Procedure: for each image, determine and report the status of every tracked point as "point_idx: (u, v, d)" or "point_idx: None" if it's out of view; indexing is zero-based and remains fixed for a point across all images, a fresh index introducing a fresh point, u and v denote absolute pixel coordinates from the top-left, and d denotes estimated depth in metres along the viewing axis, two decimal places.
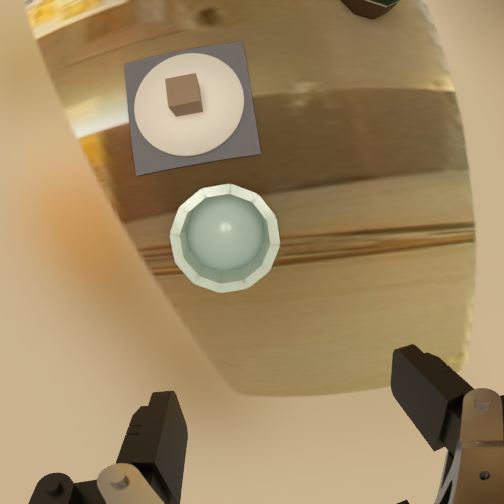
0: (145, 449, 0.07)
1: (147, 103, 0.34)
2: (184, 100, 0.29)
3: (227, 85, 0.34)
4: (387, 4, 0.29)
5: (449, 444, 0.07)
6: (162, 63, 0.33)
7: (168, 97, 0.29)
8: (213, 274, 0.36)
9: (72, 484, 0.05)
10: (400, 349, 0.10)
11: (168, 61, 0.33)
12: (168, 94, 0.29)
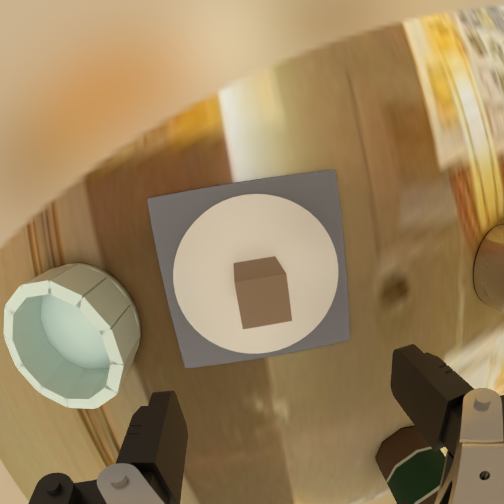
0: (145, 449, 0.07)
1: (259, 216, 0.24)
2: (244, 306, 0.20)
3: (280, 332, 0.26)
4: (388, 484, 0.27)
5: (449, 444, 0.07)
6: (326, 236, 0.25)
7: (251, 281, 0.20)
8: (26, 319, 0.22)
9: (72, 484, 0.05)
10: (400, 349, 0.10)
11: (328, 245, 0.25)
12: (256, 281, 0.20)
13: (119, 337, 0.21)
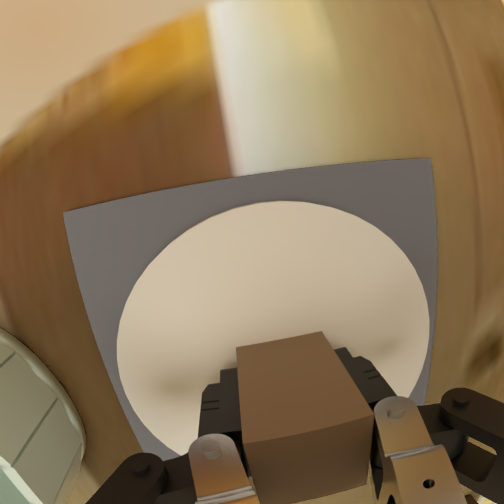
0: (230, 419, 0.08)
1: (291, 251, 0.11)
2: (267, 480, 0.07)
3: None
4: None
5: None
6: (417, 286, 0.12)
7: (286, 439, 0.07)
8: None
9: (163, 468, 0.06)
10: None
11: (418, 303, 0.12)
12: (300, 438, 0.07)
13: (34, 472, 0.08)
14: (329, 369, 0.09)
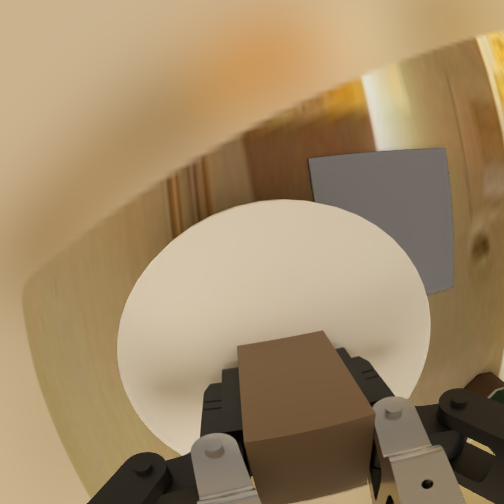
0: (232, 419, 0.08)
1: (293, 250, 0.11)
2: (267, 479, 0.07)
3: None
4: None
5: None
6: (418, 286, 0.12)
7: (288, 439, 0.07)
8: None
9: (165, 468, 0.06)
10: None
11: (420, 303, 0.12)
12: (302, 437, 0.07)
13: None
14: (330, 368, 0.09)
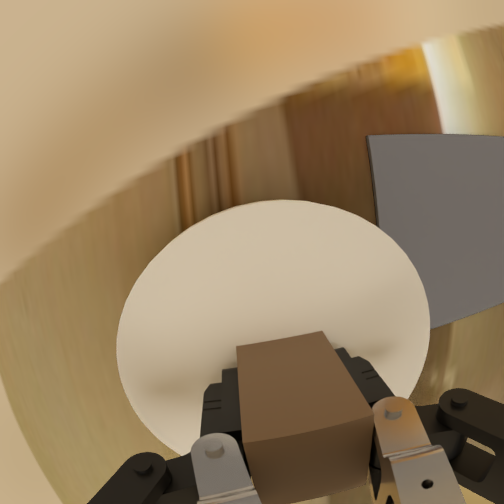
0: (232, 419, 0.08)
1: (292, 250, 0.11)
2: (266, 479, 0.07)
3: None
4: None
5: None
6: (417, 287, 0.12)
7: (286, 439, 0.07)
8: None
9: (165, 468, 0.06)
10: None
11: (419, 304, 0.12)
12: (301, 437, 0.07)
13: None
14: (329, 369, 0.09)
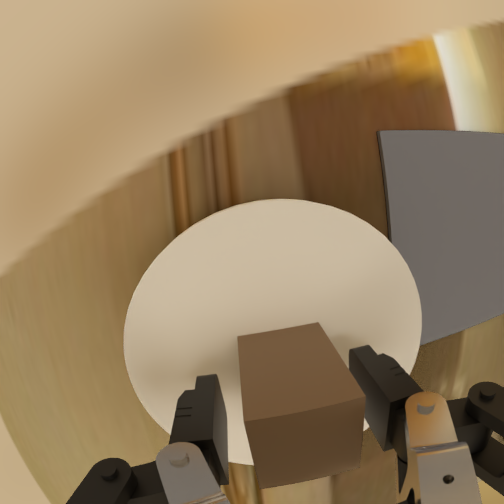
0: (200, 427, 0.08)
1: (290, 246, 0.12)
2: (265, 459, 0.08)
3: None
4: None
5: (396, 445, 0.07)
6: (409, 282, 0.12)
7: (284, 418, 0.07)
8: None
9: (130, 472, 0.06)
10: (354, 349, 0.11)
11: (411, 298, 0.12)
12: (297, 417, 0.07)
13: None
14: (324, 356, 0.10)
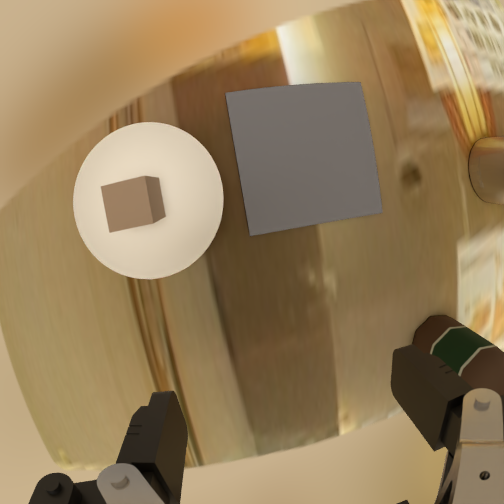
0: (145, 449, 0.07)
1: (143, 141, 0.24)
2: (109, 209, 0.20)
3: (169, 255, 0.26)
4: None
5: (449, 443, 0.07)
6: (207, 156, 0.25)
7: (114, 184, 0.20)
8: None
9: (72, 484, 0.05)
10: (400, 349, 0.10)
11: (210, 165, 0.25)
12: (119, 184, 0.20)
13: None
14: None
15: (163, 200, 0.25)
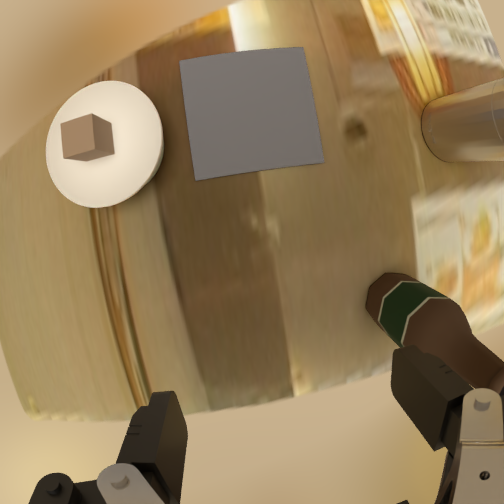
0: (145, 449, 0.07)
1: (102, 96, 0.27)
2: (64, 140, 0.23)
3: (115, 186, 0.29)
4: (380, 321, 0.36)
5: (449, 443, 0.07)
6: (150, 105, 0.27)
7: (70, 121, 0.23)
8: None
9: (72, 484, 0.05)
10: (400, 349, 0.10)
11: (152, 111, 0.28)
12: (73, 121, 0.23)
13: None
14: None
15: (113, 141, 0.28)
